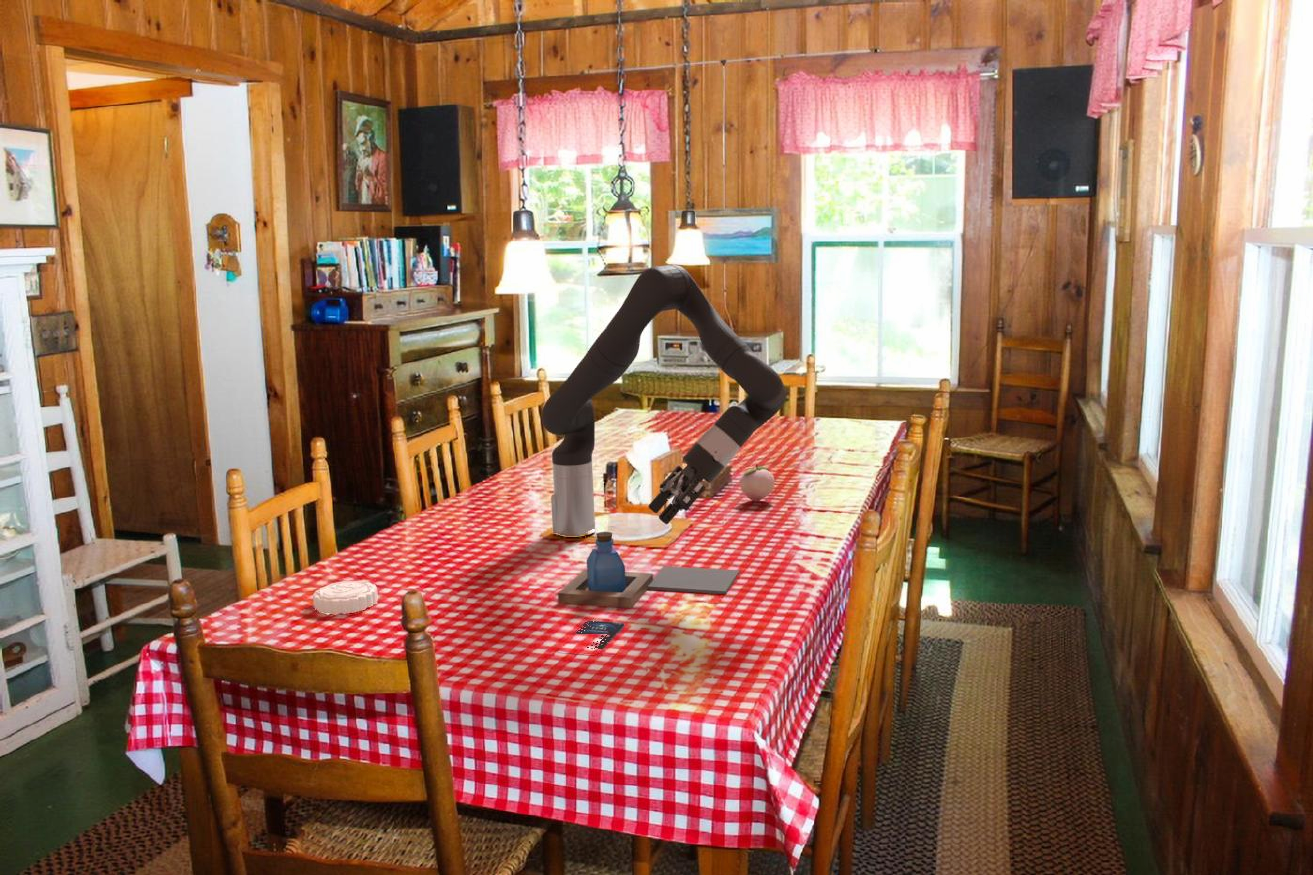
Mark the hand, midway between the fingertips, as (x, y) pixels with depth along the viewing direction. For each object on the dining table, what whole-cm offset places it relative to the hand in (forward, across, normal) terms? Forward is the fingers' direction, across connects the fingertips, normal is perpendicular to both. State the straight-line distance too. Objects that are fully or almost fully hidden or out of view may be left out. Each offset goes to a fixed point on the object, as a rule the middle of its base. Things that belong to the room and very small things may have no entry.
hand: (656, 515), depth 209 cm
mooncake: (+53, -10, -32) cm, 63 cm away
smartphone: (+23, +22, -2) cm, 32 cm away
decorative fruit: (-18, -56, +39) cm, 71 cm away
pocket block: (+18, 0, +3) cm, 18 cm away
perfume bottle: (+18, 0, +3) cm, 18 cm away
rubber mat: (+5, -1, +16) cm, 16 cm away
